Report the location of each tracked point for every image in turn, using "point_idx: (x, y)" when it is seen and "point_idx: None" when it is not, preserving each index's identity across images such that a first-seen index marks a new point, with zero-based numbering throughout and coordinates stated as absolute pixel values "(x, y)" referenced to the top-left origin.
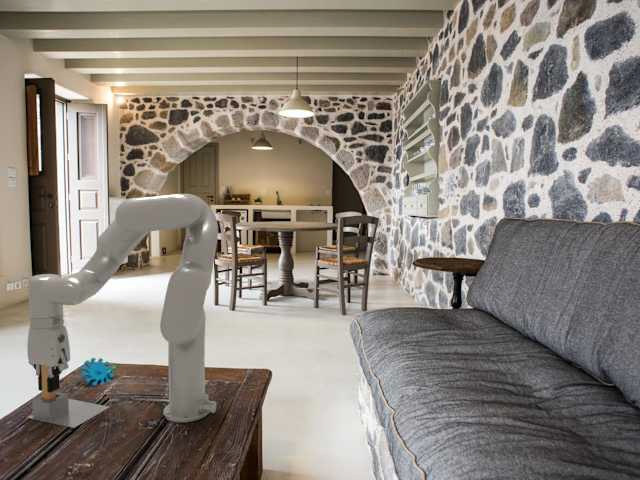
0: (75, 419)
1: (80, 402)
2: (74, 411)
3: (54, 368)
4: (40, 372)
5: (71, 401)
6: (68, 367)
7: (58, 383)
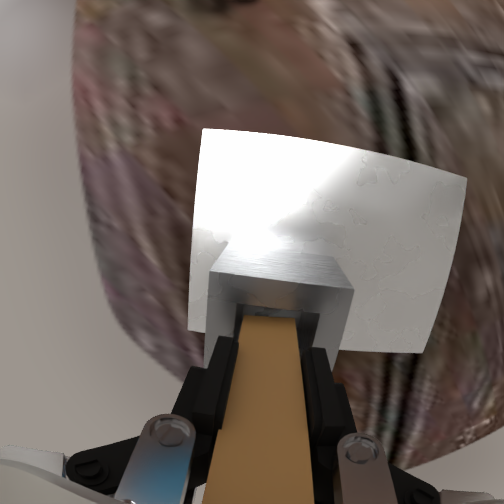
0: (399, 306)
1: (319, 154)
2: (354, 246)
3: (310, 494)
4: (195, 492)
5: (263, 153)
6: (492, 496)
7: (345, 397)
